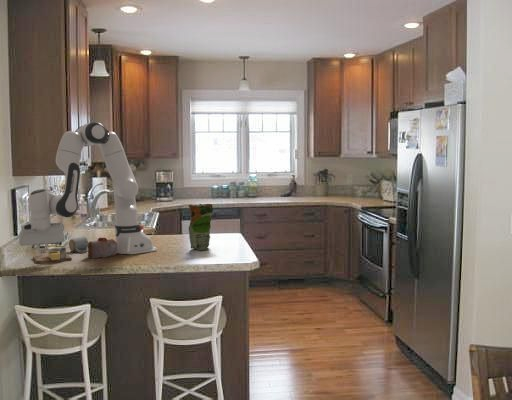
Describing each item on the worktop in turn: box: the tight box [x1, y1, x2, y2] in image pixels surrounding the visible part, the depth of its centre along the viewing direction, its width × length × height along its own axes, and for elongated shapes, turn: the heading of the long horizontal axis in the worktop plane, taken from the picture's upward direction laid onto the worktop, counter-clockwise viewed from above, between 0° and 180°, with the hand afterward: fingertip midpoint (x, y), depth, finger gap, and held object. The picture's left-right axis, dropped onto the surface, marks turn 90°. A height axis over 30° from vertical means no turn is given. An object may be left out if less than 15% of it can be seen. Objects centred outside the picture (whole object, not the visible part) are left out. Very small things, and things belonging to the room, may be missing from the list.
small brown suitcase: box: [87, 237, 118, 260], centre depth 280 cm, size 14×8×10 cm, turn 130°
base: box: [32, 246, 72, 265], centre depth 274 cm, size 16×14×6 cm
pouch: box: [188, 203, 214, 252], centre depth 297 cm, size 11×12×25 cm
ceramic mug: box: [68, 235, 89, 254], centre depth 294 cm, size 11×8×8 cm
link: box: [46, 246, 60, 260], centre depth 271 cm, size 13×5×4 cm, turn 30°
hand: (42, 252), depth 263 cm, fingers closed
